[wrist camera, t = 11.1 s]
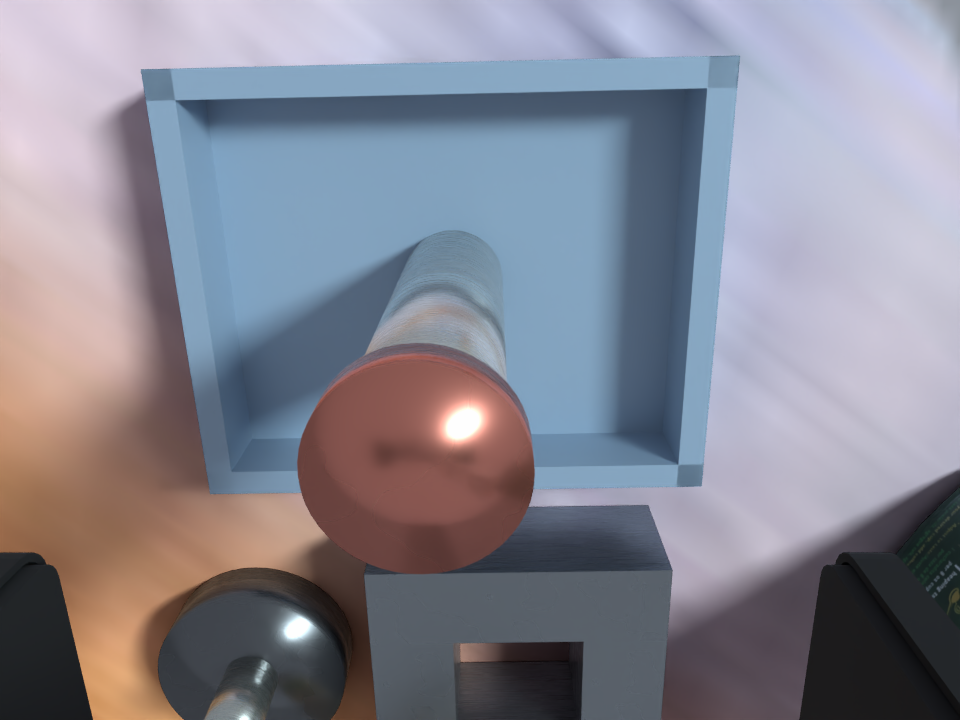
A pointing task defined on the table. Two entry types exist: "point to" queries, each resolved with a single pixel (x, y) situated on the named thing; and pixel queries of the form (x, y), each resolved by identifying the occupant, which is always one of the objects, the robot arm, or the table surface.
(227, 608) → the dark knobbed lid
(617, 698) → the block
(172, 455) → the table surface
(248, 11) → the table surface
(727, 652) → the table surface
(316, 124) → the tray
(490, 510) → the lock pin
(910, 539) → the coffee jar
